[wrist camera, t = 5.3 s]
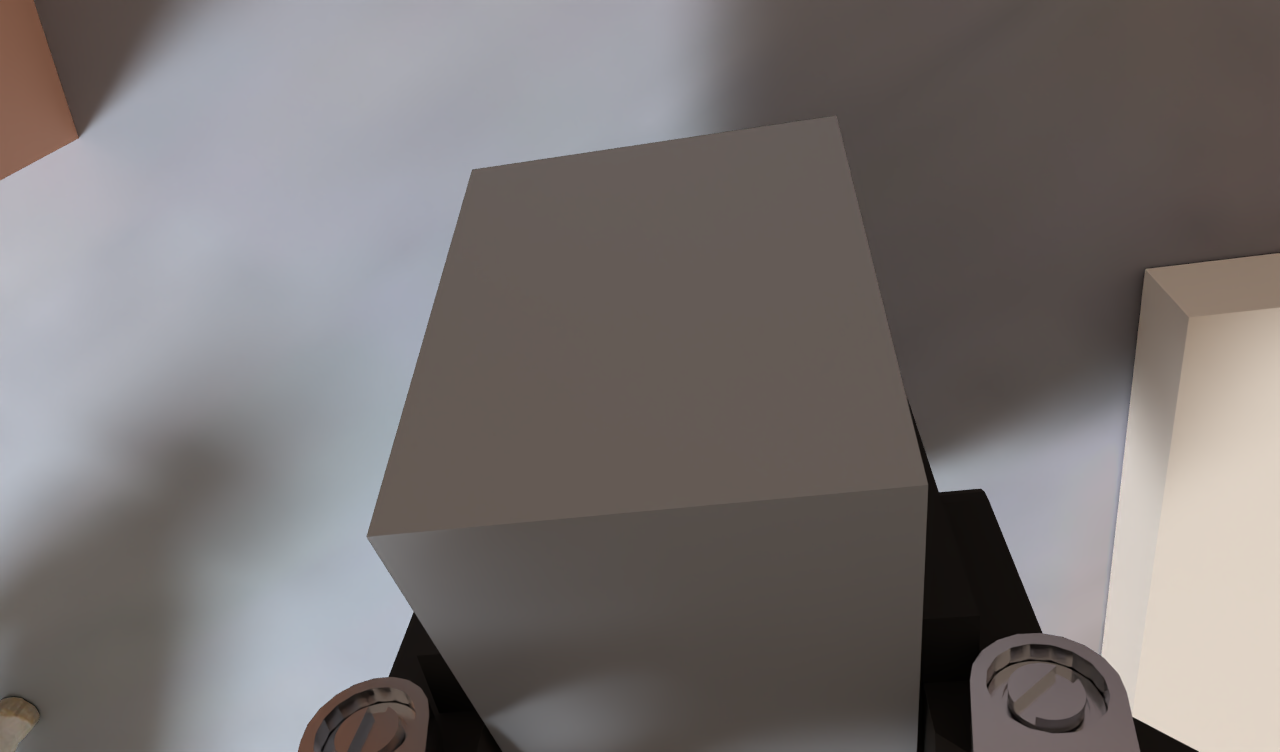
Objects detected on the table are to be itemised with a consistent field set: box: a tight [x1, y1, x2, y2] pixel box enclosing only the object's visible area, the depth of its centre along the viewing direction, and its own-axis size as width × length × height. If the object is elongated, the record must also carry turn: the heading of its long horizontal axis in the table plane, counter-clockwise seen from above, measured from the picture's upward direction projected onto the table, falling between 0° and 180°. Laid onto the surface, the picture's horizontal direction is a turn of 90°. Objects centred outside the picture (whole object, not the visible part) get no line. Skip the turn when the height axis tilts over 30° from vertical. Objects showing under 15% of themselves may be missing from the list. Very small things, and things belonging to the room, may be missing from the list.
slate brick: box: [367, 115, 928, 752], centre depth 11 cm, size 8×4×5 cm, turn 10°
